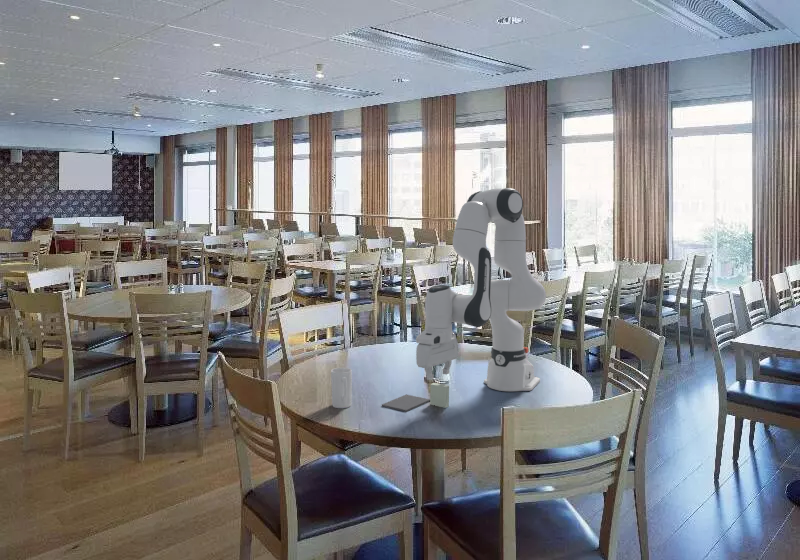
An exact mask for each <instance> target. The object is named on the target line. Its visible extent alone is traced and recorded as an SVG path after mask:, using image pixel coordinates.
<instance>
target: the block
mask: <svg viewBox="0 0 800 560" xmlns="http://www.w3.org/2000/svg"><path fill="white" fill-rule="evenodd" d="M429 385H430V395H429V396H430V398H429V399H430V405H431V406H434V405H435V407H440V408H444V409H445V408H448V407H450V385H447V384H441V383H436V382H433V383H431V384H429Z"/></svg>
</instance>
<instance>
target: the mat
mask: <svg viewBox="0 0 800 560" xmlns="http://www.w3.org/2000/svg"><path fill="white" fill-rule="evenodd" d="M429 402H430V398H425V397H420V396H416V395H411V394H404V395H401V396H398V397H396V398H394V399H392V400H390V401H388V402H385V403H382V404H381V407H382V408H388V409H392V410H396V411H400V412H404V413H407V412H409V411H412V410H414V409H416V408H418V407H421V406H423V405H425V404H427V403H429Z"/></svg>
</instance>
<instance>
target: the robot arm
mask: <svg viewBox="0 0 800 560" xmlns="http://www.w3.org/2000/svg"><path fill="white" fill-rule="evenodd" d="M523 210H524V199H523V197H522V194H521V193H520V192H519V191H518V190H517V189H515V188H511V187H505V188H491V189H487V190H483V191H481V190H480V191H477V192H474V193H473V194H470V196H469V197H468V199H467V200H466V202H465V203H464V204H462V206H461V209H460V211H459V213H458V216H457V220H456V223H455V228H454V231H453V232H454V233H453V235H452V236H453V237H452V247H453V249H454V252H455V253H456V254H457V256H459V257H460V258H462V259H464V260H465V261H467V262H469V263H470V264H471V265H472V267H473V271H474V274H473V275H474V279H473V280H474V281H473V290H472V294H471V295H467V294H461V293H457V292H455V291H454V290H452V289H451V287H450V285H446V284H438V285H433V286H431V287H429V288H428V289H427V291H426V294H425V295H426V296H425V303H424V305H425V307H424V308H425V309H424V313H425V319H426V320H425V324H424V330H423V331H421V332H420V334H418V335H417V336H416V338H415V342H416V343H417V345H416V350H415V351H416V352H415V353H416V354H415V355H416V356H415V357H416V358H415V360H416V365H417V367H418V368H422V369H424V371H425V373H426V380H428V381H433V379H434V378H435V377H434V376H435V375H434V373H433V372H432V370H433V367H434V366H439V365H441V364H444V366H443V368H442V374H443V375H448V374H450V368H451V366H452V363H453V362H452V361H453V360H456V359H458V357H459V342H458V339H457V335H456V334H455V332H454V331H453V324H452V323H456V324H463V325H468V326H470V327H474V328H481V327H482V326H484V325H485V324H486V323H488V322H489V323H490V325H491V332H492V336H491V337H492V347H491V350H490V357H491V358H490V360H489V361H488V365H487V373H486V374H487V375H486V378H484V380H483V383H484V384H486V385H487V387H488V388H489V389H492V390H496V391H500V392H501V391H502V392H522V391H523V392H524V391H525V392H526V391H527V392H529V391H532V390H533V389H534V388H536V386H537V385H538V384H539V383H540V382H541V378H540V377H537V376H535V375H534V374H535V369H534V368H535V367H534V365H533V364H532V363H531V362H530V361H529V360H528V359H527V355H526V354H528V353H529V347H524V344H525V343H524V341H525V339H524V337H525V331H524V327H523V326H522V324H521V323H520V322H518V321H517V320H515V319H513V318H511V317H509V315H508V314H507V312H508V311H514V312H515V311H516V312H519V311H520V312H529V311H530V312H531V311H534V310H540V309H541V308H542V307H543V306H544V304H545V302H546V300H547V299H546V298H547V292H546V289H545V287H544V286H543V284H542V283H541V282H540V281H538V280H537V279H536V278H535V277H534V276H533V275H532V273H531V271H530V269H529V267H528V262H527V252H526V251H527V249H526V247H527V246H526V245H527V239H526V236H527V234H526V233H527V232H526V224H525V218H524V215H523V214H522V213H523ZM490 222H493V223H494V227H495V230H494V231H495V232H494V242H493V244H494V247H493V248H494V250H493V251H494V252H493V261H494V263H495V264H496V266H497V267H498V268H500V269H502V270H503V271H505V272H508V273H509V274H510V276H511V278H510V279H492V257H491V255H492V253H491V252H490V251H489V250H488V248H487V247H488V246H487V236H488V228H489V223H490Z"/></svg>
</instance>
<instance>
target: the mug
mask: <svg viewBox="0 0 800 560" xmlns="http://www.w3.org/2000/svg"><path fill="white" fill-rule="evenodd" d="M330 371H331V372H330V375H331V376H330V377H331V380H330V381H331V402H332V407H333V408H336V409H347V408H350V407H352V390H353V389H352V388H353V387H352V386H353V385H352V383H353V382H352V380H353V379H352V377H353V372H352V369H351V368H348V367H335V368H332V369H331V370H330Z"/></svg>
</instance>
